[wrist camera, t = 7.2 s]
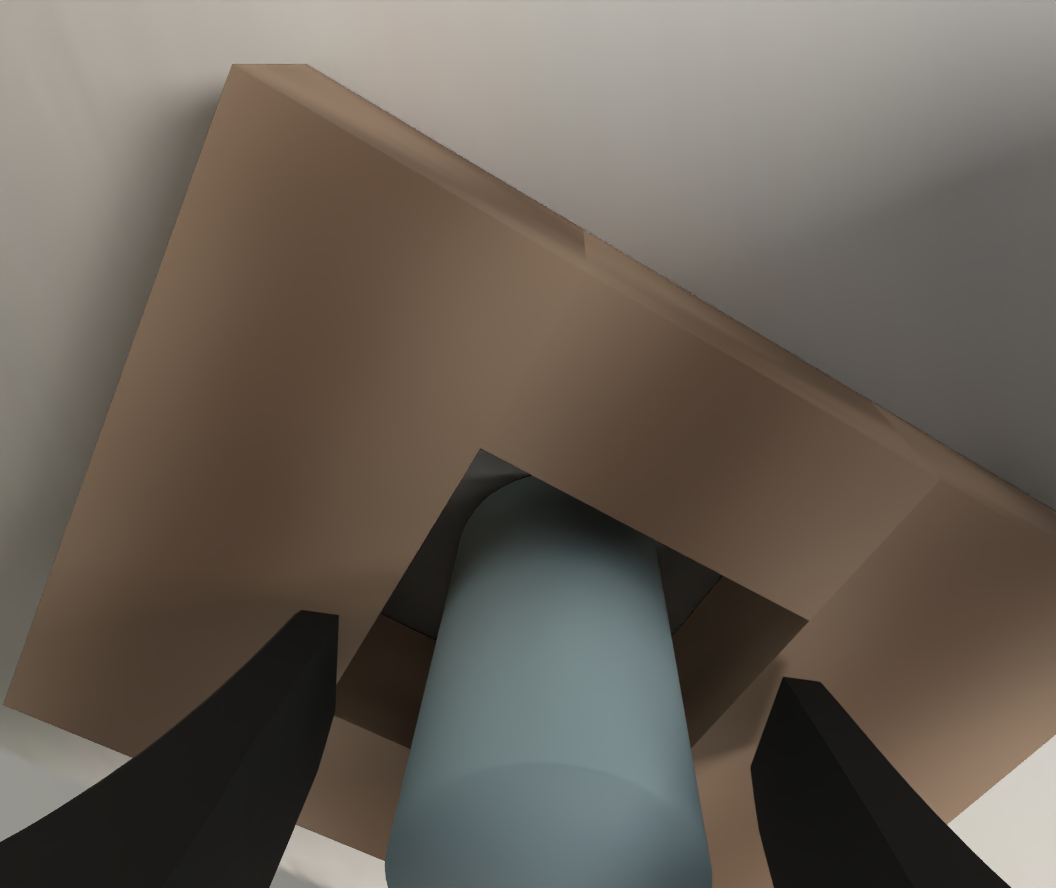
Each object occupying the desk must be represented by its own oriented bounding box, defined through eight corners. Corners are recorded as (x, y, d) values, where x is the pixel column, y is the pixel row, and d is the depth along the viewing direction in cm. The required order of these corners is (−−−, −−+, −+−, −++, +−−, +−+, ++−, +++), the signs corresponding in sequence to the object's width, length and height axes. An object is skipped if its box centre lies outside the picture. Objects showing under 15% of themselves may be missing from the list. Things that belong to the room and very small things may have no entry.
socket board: (1077, 524, 15) (1188, 624, 12) (709, 874, 20) (731, 1002, 17) (306, 64, 12) (232, 64, 10) (92, 602, 17) (2, 704, 14)
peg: (672, 484, 15) (744, 784, 9) (640, 649, 17) (680, 997, 11) (464, 462, 15) (387, 744, 9) (453, 629, 17) (382, 964, 11)
